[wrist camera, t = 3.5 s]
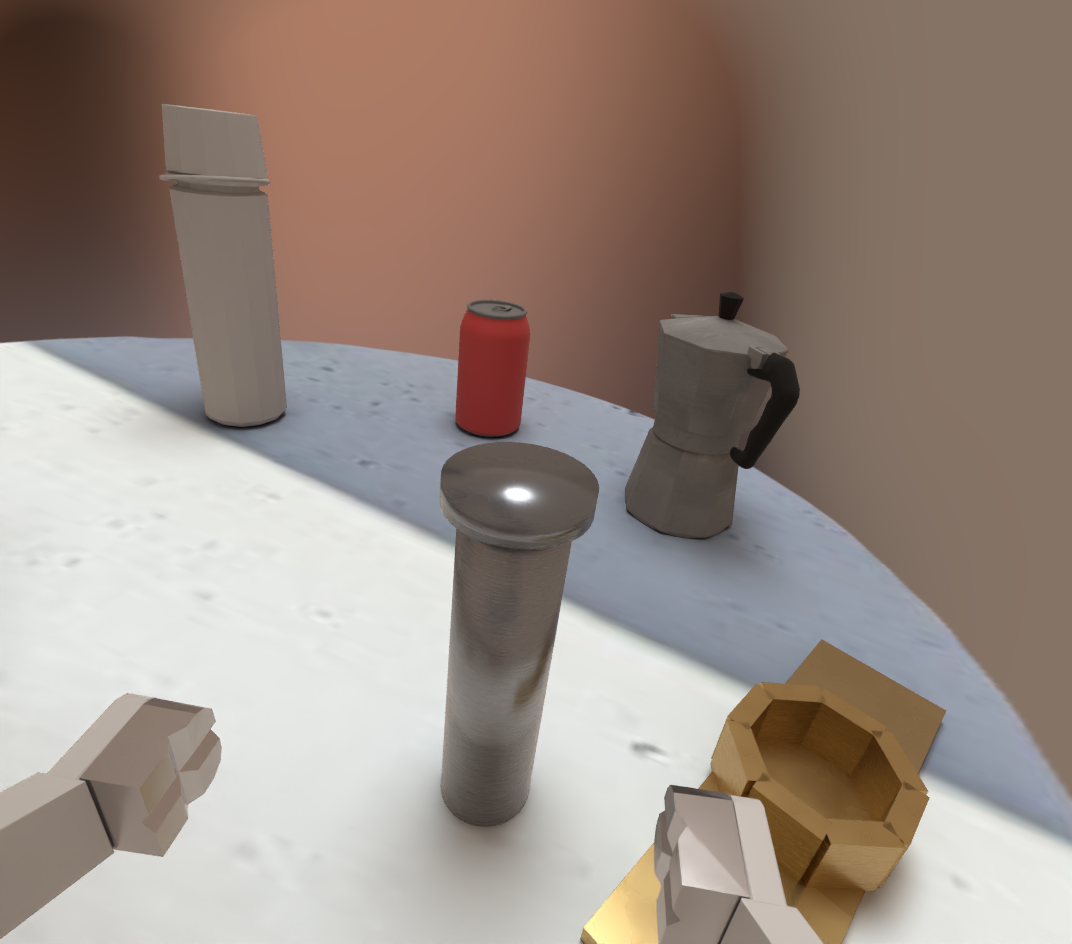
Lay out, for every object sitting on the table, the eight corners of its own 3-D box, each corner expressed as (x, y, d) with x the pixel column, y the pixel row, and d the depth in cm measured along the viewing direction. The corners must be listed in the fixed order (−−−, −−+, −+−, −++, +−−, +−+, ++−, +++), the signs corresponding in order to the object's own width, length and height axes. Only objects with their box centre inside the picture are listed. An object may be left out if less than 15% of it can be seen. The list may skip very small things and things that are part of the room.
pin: (480, 867, 24) (519, 542, 17) (404, 777, 27) (408, 467, 20) (565, 787, 28) (630, 487, 20) (489, 715, 31) (521, 430, 23)
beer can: (532, 427, 62) (546, 311, 57) (490, 446, 58) (501, 320, 52) (485, 407, 66) (493, 295, 60) (441, 423, 61) (446, 302, 55)
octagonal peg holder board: (764, 1145, 18) (805, 1098, 16) (572, 929, 23) (587, 873, 21) (947, 725, 34) (979, 676, 32) (811, 645, 38) (832, 598, 36)
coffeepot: (595, 473, 55) (632, 269, 47) (685, 468, 58) (736, 275, 50) (677, 580, 42) (749, 327, 34) (788, 567, 45) (880, 331, 37)
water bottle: (304, 419, 58) (282, 119, 46) (217, 438, 53) (166, 105, 41) (264, 387, 63) (234, 112, 52) (182, 401, 58) (128, 99, 46)
